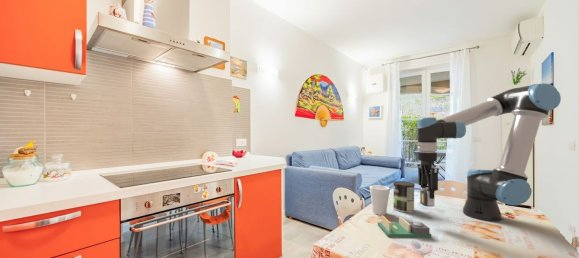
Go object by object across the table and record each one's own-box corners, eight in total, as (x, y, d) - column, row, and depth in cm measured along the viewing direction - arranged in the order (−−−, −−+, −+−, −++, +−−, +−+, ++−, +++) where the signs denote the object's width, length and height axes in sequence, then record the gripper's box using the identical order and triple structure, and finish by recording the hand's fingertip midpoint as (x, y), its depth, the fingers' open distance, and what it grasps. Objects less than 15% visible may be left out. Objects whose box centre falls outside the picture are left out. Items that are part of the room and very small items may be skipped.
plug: (429, 203, 112) (429, 190, 112) (434, 206, 108) (434, 192, 108) (420, 203, 112) (420, 190, 112) (424, 206, 108) (424, 192, 108)
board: (416, 225, 109) (416, 215, 109) (431, 237, 97) (431, 225, 97) (377, 225, 109) (377, 214, 109) (387, 236, 97) (388, 224, 97)
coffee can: (396, 212, 127) (396, 184, 127) (391, 206, 137) (391, 180, 137) (417, 213, 126) (417, 185, 126) (410, 207, 136) (410, 181, 136)
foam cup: (389, 211, 128) (390, 186, 128) (388, 217, 119) (389, 190, 120) (370, 208, 132) (370, 184, 132) (368, 214, 123) (368, 188, 124)
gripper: (409, 150, 119) (410, 198, 119) (429, 153, 102) (430, 210, 102) (425, 150, 119) (426, 198, 119) (447, 153, 102) (448, 210, 102)
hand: (428, 203), depth 110 cm, fingers closed on plug, 4 cm apart
